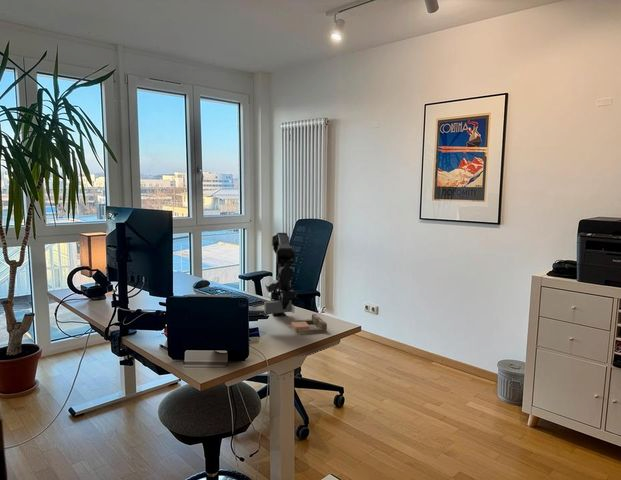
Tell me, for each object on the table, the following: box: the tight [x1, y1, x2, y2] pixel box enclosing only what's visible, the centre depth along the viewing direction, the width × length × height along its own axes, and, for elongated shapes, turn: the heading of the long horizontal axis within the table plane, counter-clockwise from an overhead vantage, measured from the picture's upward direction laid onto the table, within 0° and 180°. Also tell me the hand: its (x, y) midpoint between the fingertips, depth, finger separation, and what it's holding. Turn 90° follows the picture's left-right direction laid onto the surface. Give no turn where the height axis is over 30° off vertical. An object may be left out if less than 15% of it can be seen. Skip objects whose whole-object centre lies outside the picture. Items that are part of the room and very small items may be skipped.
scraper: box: [263, 299, 295, 315], centre depth 195 cm, size 13×7×5 cm, turn 109°
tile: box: [290, 321, 311, 333], centre depth 199 cm, size 7×7×2 cm
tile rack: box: [289, 313, 328, 335], centre depth 201 cm, size 15×13×4 cm
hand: (283, 308), depth 196 cm, fingers closed on scraper, 3 cm apart
